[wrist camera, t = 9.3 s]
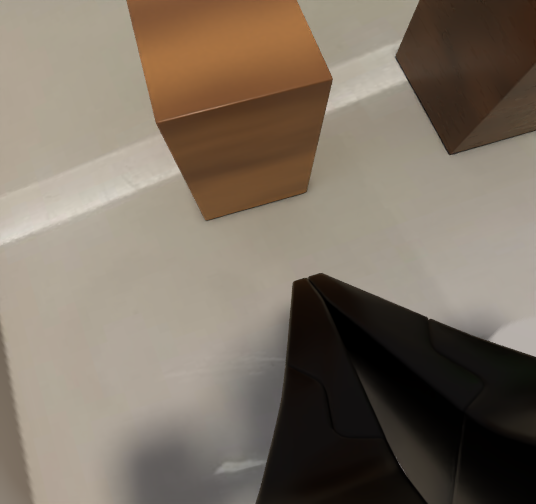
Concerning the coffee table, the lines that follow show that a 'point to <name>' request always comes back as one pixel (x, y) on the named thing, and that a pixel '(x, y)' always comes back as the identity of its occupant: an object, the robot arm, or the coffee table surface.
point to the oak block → (234, 95)
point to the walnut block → (473, 68)
